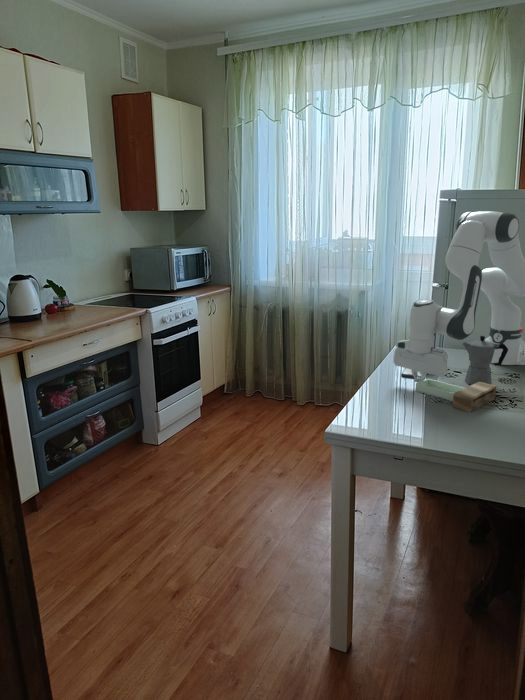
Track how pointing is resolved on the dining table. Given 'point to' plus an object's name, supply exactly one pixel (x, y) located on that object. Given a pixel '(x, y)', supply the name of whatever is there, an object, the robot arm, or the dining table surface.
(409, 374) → the smartphone
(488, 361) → the coffeepot
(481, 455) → the dining table surface
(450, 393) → the tray
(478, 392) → the walnut shelf
